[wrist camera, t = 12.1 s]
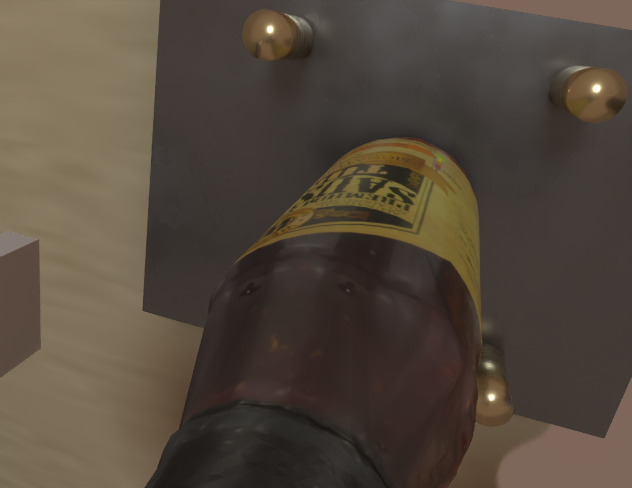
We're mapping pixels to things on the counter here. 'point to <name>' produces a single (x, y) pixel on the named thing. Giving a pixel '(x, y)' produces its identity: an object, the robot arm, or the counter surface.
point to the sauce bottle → (343, 337)
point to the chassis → (435, 128)
